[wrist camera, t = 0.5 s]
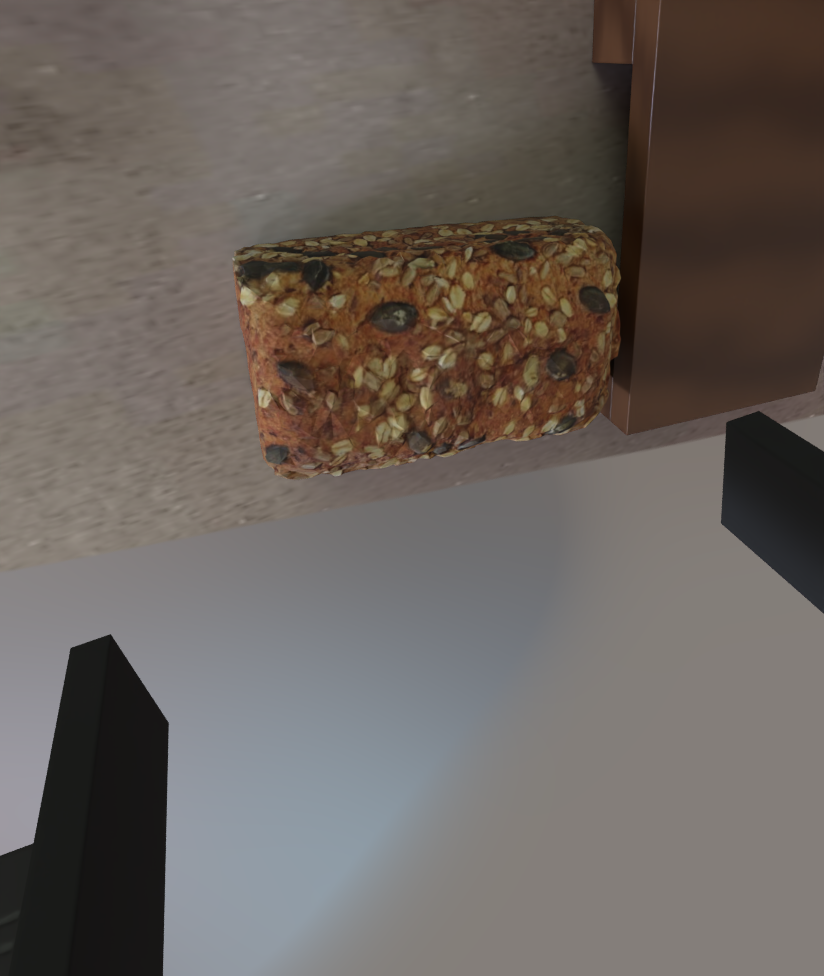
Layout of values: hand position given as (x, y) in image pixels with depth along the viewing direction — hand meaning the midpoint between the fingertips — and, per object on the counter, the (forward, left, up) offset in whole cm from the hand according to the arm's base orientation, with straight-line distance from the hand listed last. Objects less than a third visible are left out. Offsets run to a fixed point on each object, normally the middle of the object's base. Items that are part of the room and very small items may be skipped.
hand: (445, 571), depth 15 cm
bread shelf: (+1, +24, -28) cm, 36 cm away
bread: (+4, +6, -28) cm, 29 cm away
